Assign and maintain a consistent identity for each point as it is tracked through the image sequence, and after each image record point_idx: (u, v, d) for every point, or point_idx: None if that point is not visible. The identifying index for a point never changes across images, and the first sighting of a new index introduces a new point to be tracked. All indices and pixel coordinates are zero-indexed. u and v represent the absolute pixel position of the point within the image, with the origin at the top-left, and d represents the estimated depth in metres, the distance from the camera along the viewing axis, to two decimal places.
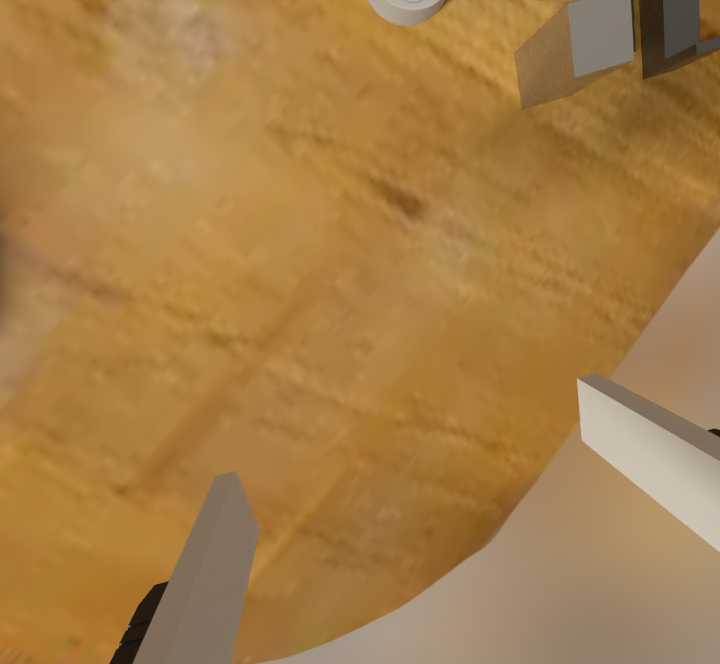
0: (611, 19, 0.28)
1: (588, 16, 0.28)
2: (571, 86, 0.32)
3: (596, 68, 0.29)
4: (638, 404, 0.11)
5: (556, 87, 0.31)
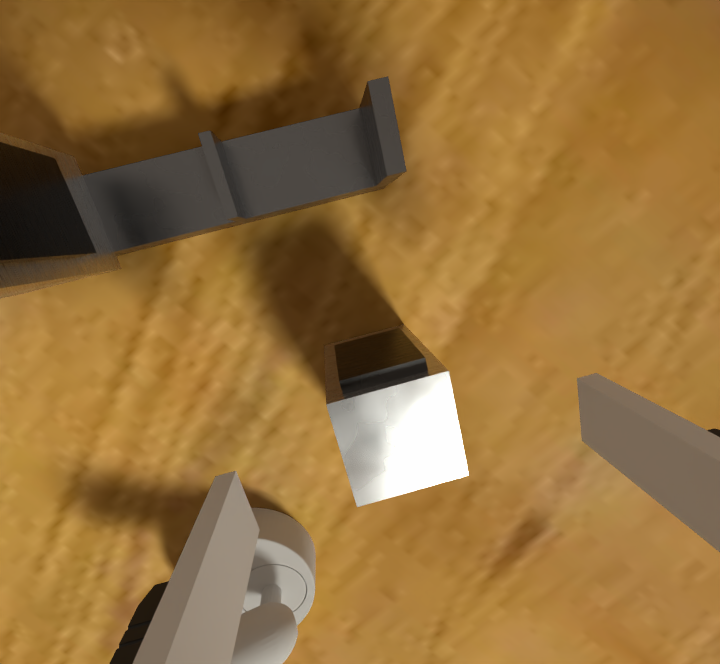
0: (381, 427, 0.15)
1: (376, 468, 0.15)
2: None
3: (456, 439, 0.15)
4: (638, 404, 0.11)
5: None
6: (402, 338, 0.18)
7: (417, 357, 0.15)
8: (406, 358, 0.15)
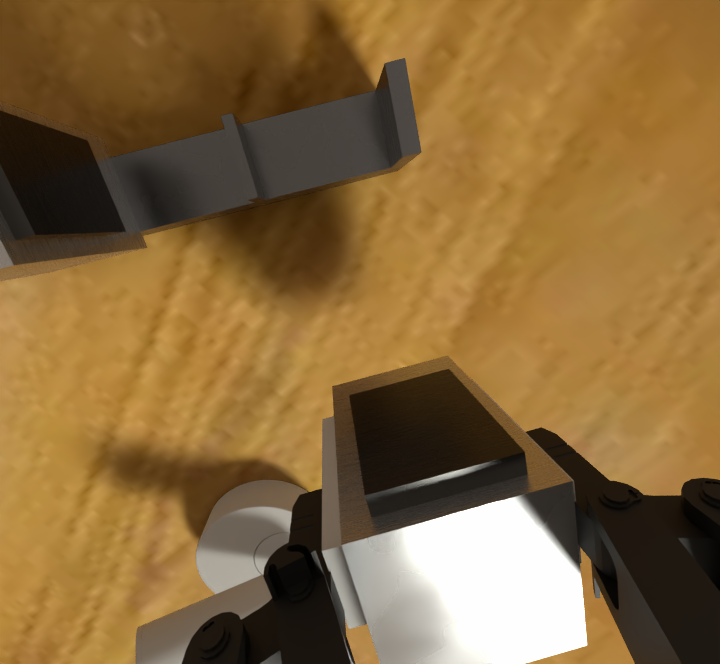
0: (441, 579, 0.08)
1: (428, 643, 0.09)
2: None
3: (573, 591, 0.09)
4: None
5: None
6: (461, 393, 0.11)
7: (508, 448, 0.08)
8: (486, 448, 0.08)
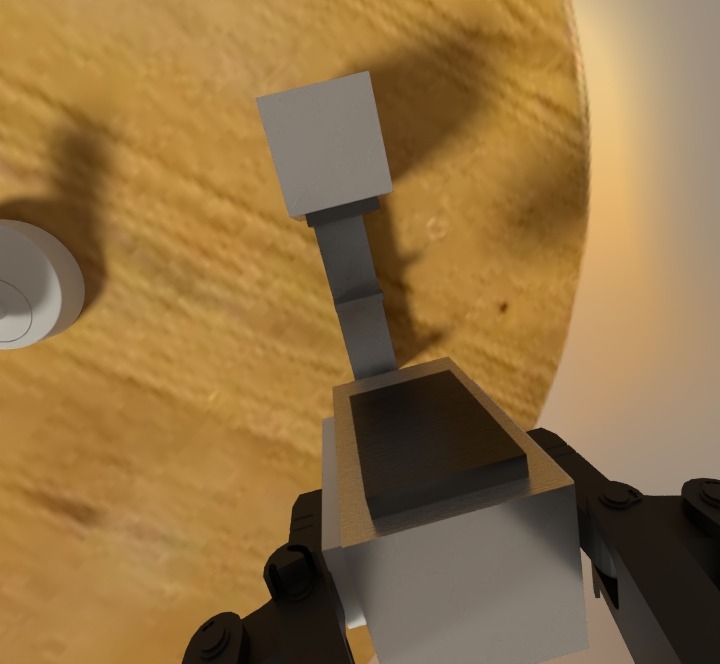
0: (442, 582, 0.08)
1: (429, 647, 0.08)
2: None
3: (575, 594, 0.08)
4: None
5: None
6: (462, 394, 0.11)
7: (509, 450, 0.08)
8: (487, 450, 0.08)
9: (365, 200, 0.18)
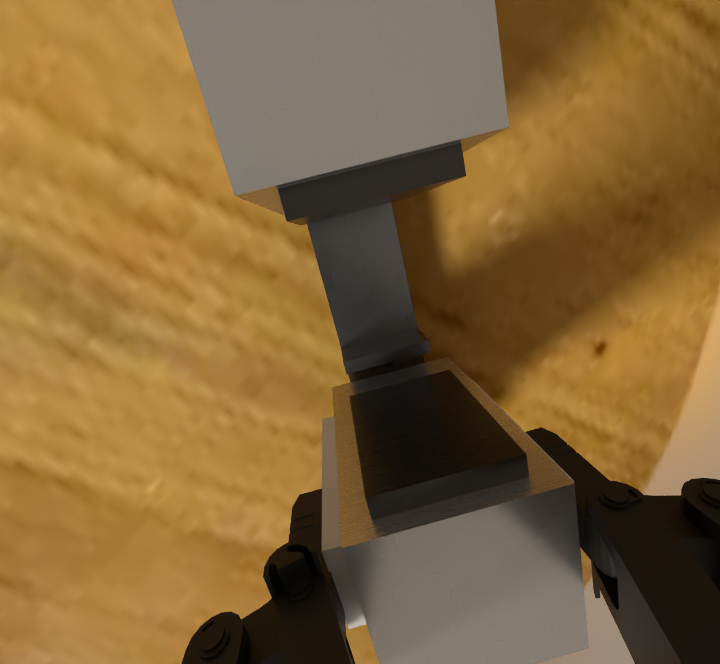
0: (442, 582, 0.08)
1: (429, 647, 0.08)
2: None
3: (575, 594, 0.08)
4: None
5: None
6: (462, 395, 0.11)
7: (509, 451, 0.08)
8: (487, 450, 0.08)
9: (431, 154, 0.07)
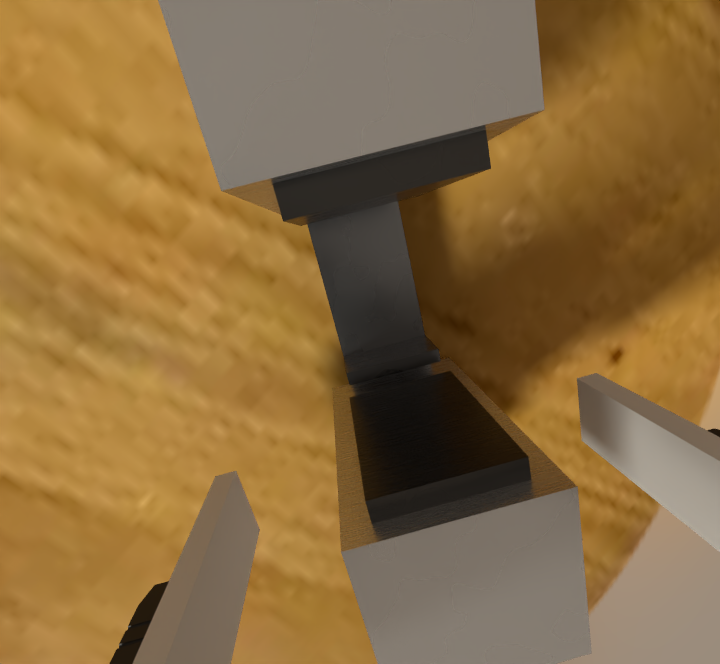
0: (443, 587, 0.08)
1: (429, 652, 0.08)
2: None
3: (578, 599, 0.08)
4: (638, 404, 0.11)
5: None
6: (463, 396, 0.11)
7: (511, 453, 0.08)
8: (488, 452, 0.08)
9: (451, 143, 0.06)
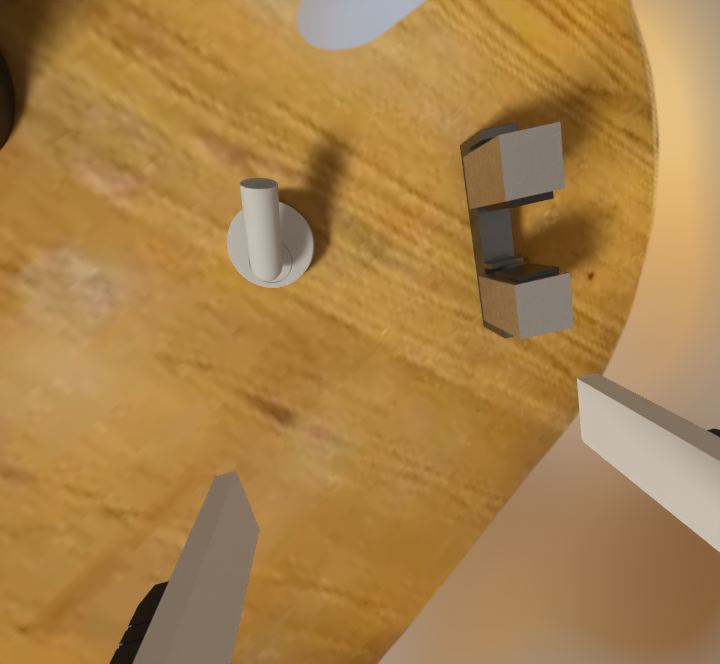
0: (536, 298, 0.32)
1: (531, 319, 0.32)
2: None
3: (570, 307, 0.32)
4: (638, 404, 0.11)
5: None
6: (536, 265, 0.35)
7: (554, 267, 0.32)
8: (548, 268, 0.32)
9: (546, 193, 0.30)
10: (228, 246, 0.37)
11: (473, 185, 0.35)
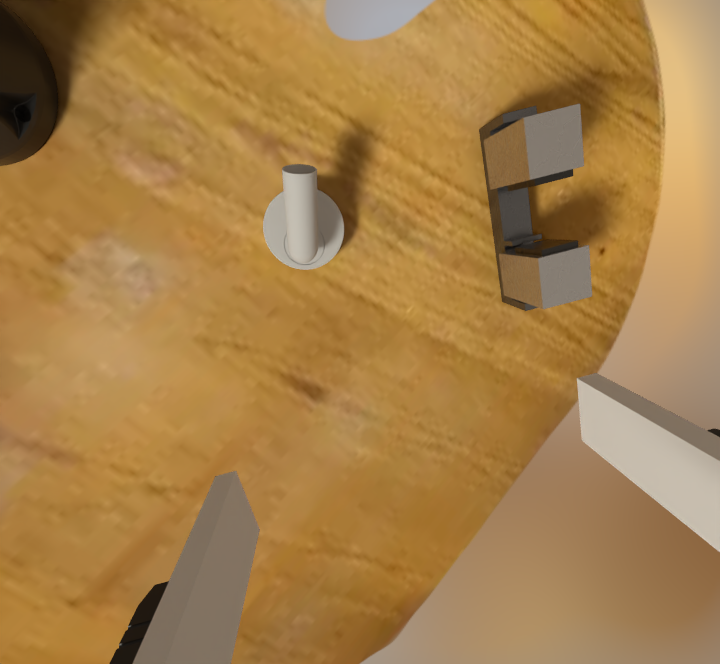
0: (558, 270, 0.35)
1: (553, 290, 0.35)
2: None
3: (588, 278, 0.35)
4: (638, 404, 0.11)
5: None
6: (555, 240, 0.37)
7: (573, 241, 0.35)
8: (567, 242, 0.35)
9: (566, 171, 0.33)
10: (264, 231, 0.39)
11: (494, 166, 0.37)
